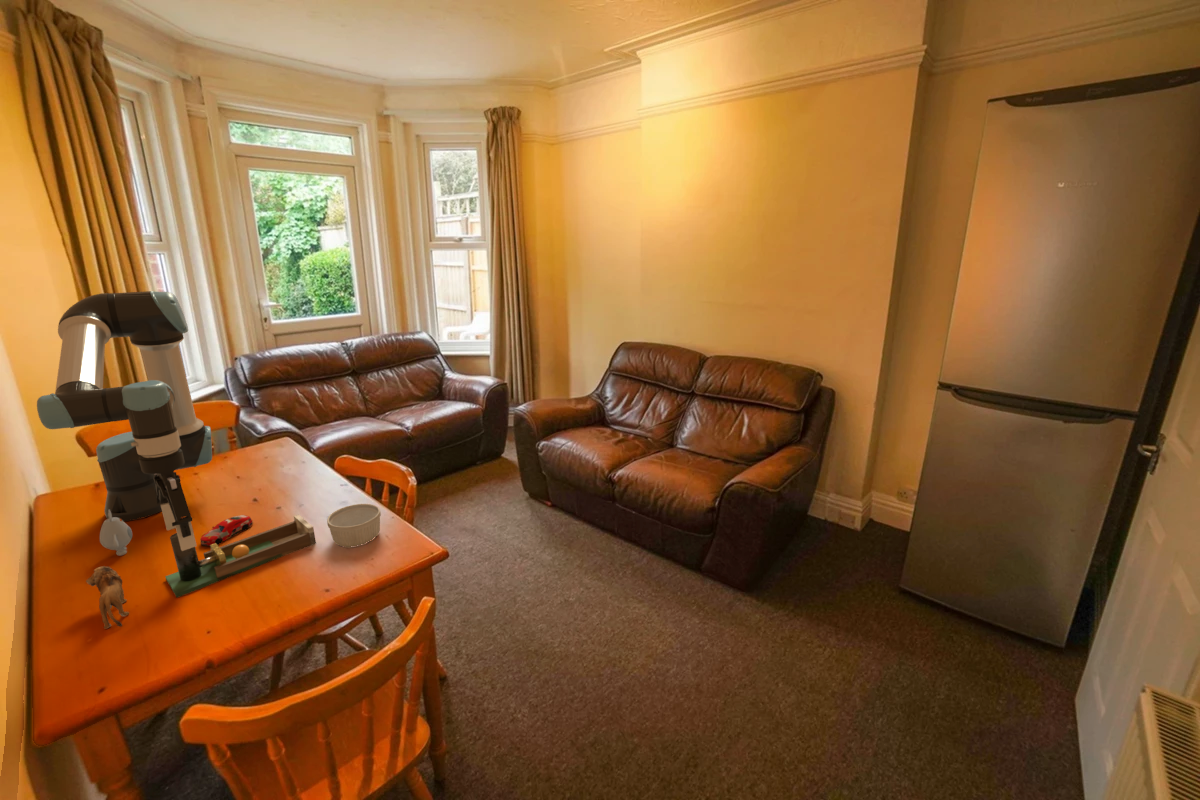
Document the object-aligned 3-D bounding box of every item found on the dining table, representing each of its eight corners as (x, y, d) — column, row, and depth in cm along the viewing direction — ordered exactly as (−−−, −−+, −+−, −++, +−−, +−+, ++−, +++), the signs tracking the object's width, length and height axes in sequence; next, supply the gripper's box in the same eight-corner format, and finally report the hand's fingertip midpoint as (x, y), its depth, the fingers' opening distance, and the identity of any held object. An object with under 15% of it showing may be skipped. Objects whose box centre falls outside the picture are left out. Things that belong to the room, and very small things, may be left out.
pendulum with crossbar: (177, 573, 126) (166, 533, 123) (219, 558, 132) (210, 519, 129) (184, 586, 122) (173, 544, 119) (228, 569, 128) (219, 529, 125)
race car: (210, 550, 139) (207, 536, 138) (196, 546, 141) (192, 532, 140) (257, 525, 151) (254, 513, 150) (243, 522, 153) (240, 509, 152)
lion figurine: (92, 604, 118) (81, 569, 115) (124, 593, 121) (113, 558, 119) (106, 634, 109) (94, 597, 106) (139, 621, 112) (128, 584, 110)
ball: (231, 558, 133) (228, 545, 132) (247, 552, 136) (245, 540, 135) (236, 564, 131) (233, 551, 130) (252, 557, 133) (249, 545, 132)
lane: (166, 579, 126) (161, 561, 125) (301, 530, 148) (298, 514, 147) (176, 597, 120) (171, 578, 118) (316, 543, 142) (313, 526, 140)
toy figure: (137, 557, 135) (125, 515, 132) (104, 566, 131) (91, 523, 128) (136, 540, 143) (125, 500, 139) (105, 548, 139) (93, 507, 135)
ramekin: (322, 537, 145) (318, 515, 143) (370, 520, 154) (367, 498, 152) (342, 556, 136) (339, 532, 134) (391, 536, 145) (389, 514, 143)
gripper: (127, 443, 122) (149, 526, 127) (150, 471, 106) (174, 564, 112) (167, 435, 127) (187, 514, 133) (196, 461, 111) (216, 550, 117)
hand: (181, 537), depth 122 cm, fingers open, 13 cm apart
